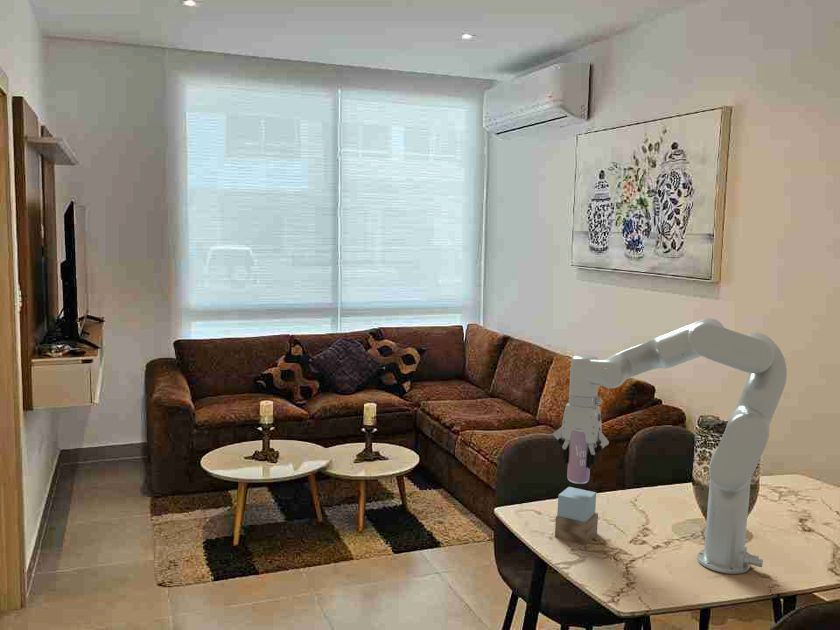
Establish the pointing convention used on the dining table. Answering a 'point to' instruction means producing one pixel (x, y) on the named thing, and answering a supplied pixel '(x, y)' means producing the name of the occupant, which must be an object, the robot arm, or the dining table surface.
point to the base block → (576, 529)
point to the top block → (576, 504)
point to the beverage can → (578, 458)
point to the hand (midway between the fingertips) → (579, 464)
